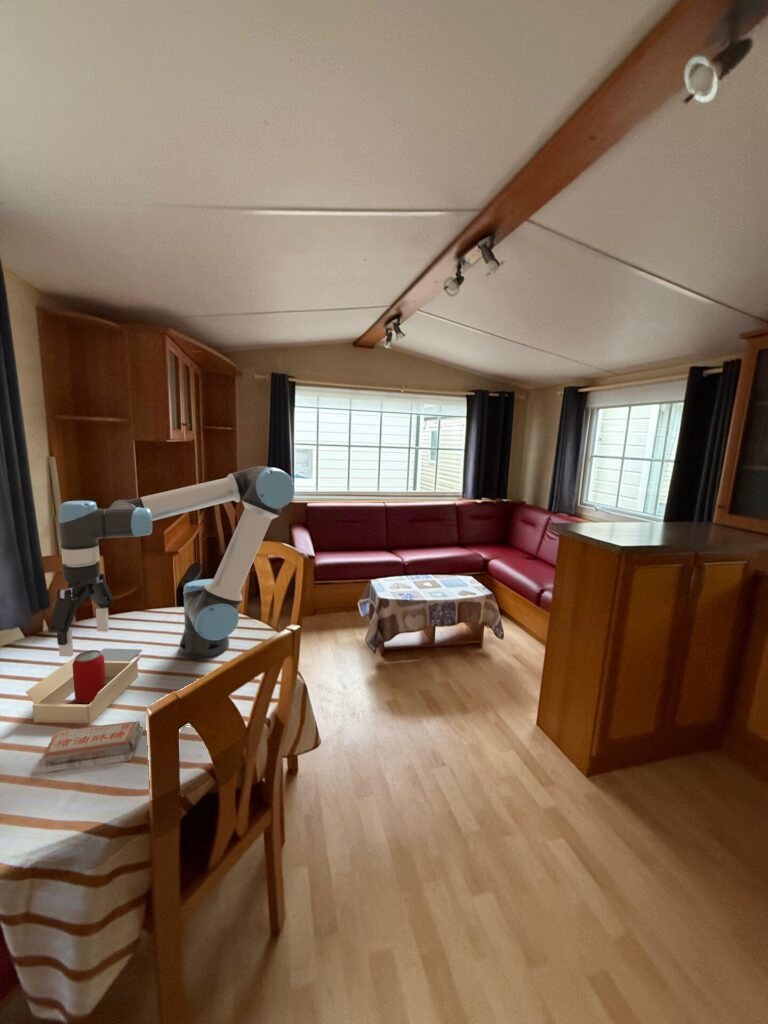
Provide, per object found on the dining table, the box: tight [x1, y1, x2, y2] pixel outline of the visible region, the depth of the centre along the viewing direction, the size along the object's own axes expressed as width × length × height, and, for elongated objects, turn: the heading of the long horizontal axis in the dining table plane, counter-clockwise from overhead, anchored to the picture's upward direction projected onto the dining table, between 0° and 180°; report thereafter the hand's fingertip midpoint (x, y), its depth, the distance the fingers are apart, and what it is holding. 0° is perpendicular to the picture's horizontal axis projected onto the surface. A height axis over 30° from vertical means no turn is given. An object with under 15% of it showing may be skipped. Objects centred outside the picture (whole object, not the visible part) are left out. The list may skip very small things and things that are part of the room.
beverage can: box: [72, 649, 107, 704], centre depth 107 cm, size 7×7×12 cm
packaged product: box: [31, 720, 145, 775], centre depth 89 cm, size 18×5×10 cm
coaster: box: [99, 648, 143, 662], centre depth 126 cm, size 12×12×1 cm
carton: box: [25, 651, 143, 724], centre depth 107 cm, size 17×21×8 cm
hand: (85, 642), depth 105 cm, fingers open, 13 cm apart
